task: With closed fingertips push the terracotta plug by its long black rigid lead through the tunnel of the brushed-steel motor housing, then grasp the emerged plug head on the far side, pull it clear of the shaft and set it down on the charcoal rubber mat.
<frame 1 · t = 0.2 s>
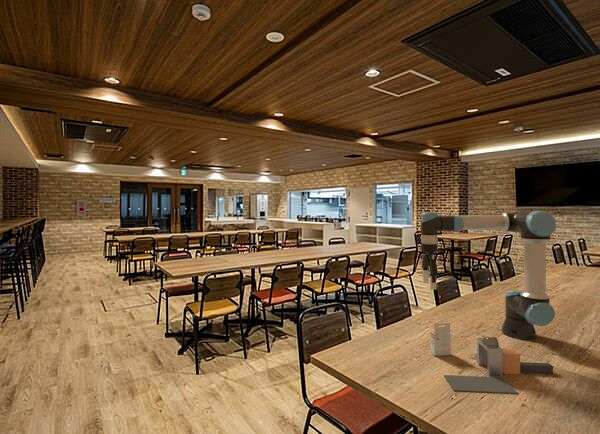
hand: (429, 286, 165), 28 cm above the table, fingers open, 13 cm apart
ink box: (440, 354, 151), on the table
housing: (489, 370, 136), on the table
plug: (508, 370, 135), on the table
mat: (479, 384, 125), on the table
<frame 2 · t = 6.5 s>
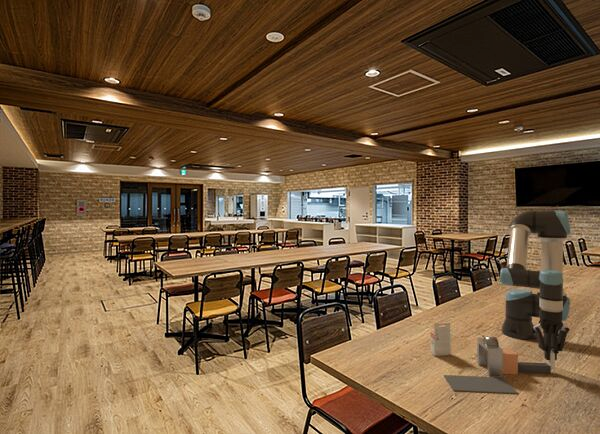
hand: (550, 367, 133), 2 cm above the table, fingers closed
plug: (506, 370, 135), on the table, touching gripper
everything else where it was.
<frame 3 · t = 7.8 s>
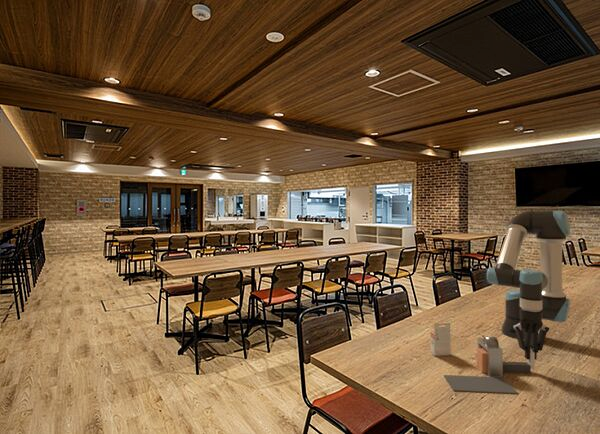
hand: (530, 367, 134), 2 cm above the table, fingers closed
plug: (487, 370, 136), on the table, touching gripper
everything else where it was.
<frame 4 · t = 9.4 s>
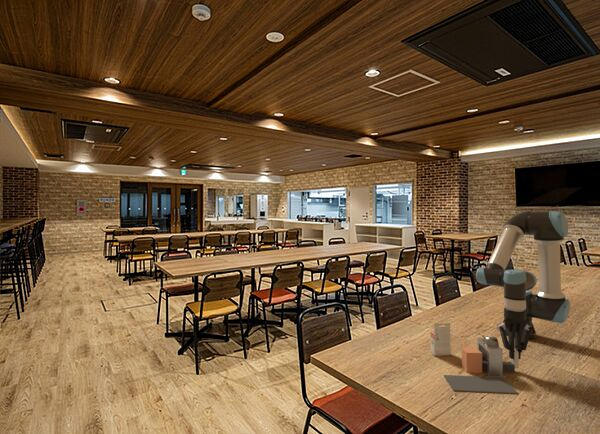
hand: (514, 366, 135), 2 cm above the table, fingers closed
plug: (471, 369, 136), on the table, touching gripper
everything else where it was.
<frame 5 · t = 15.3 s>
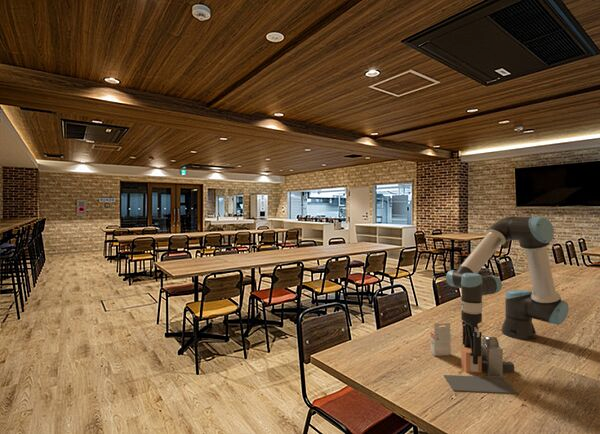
hand: (471, 367, 137), 1 cm above the table, fingers closed on plug, 5 cm apart
plug: (471, 369, 137), on the table, touching gripper
everything else where it was.
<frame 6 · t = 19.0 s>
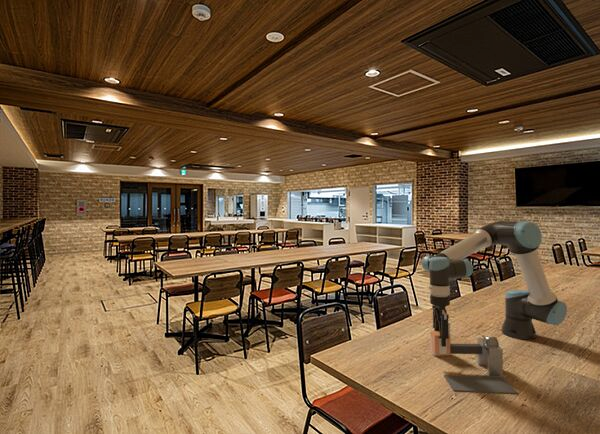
hand: (440, 350, 138), 7 cm above the table, fingers closed on plug, 5 cm apart
plug: (440, 352, 138), point 7 cm above the table, touching gripper
everything else where it was.
when the fingers open (3 cm above the table, at t = 22.7 s): plug drops 1 cm, resting on mat.
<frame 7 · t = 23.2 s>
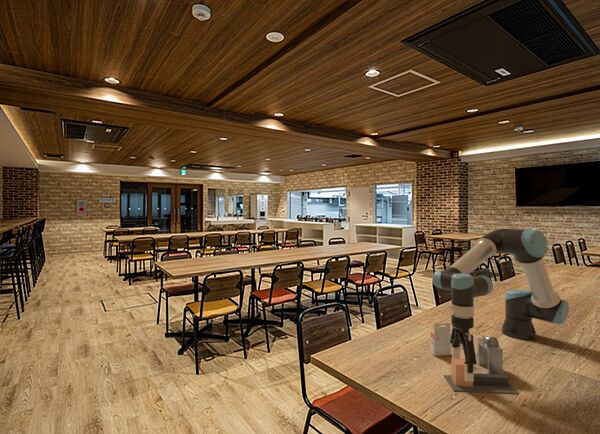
hand: (462, 372, 125), 4 cm above the table, fingers open, 12 cm apart
plug: (462, 382, 125), resting on mat
everything else where it was.
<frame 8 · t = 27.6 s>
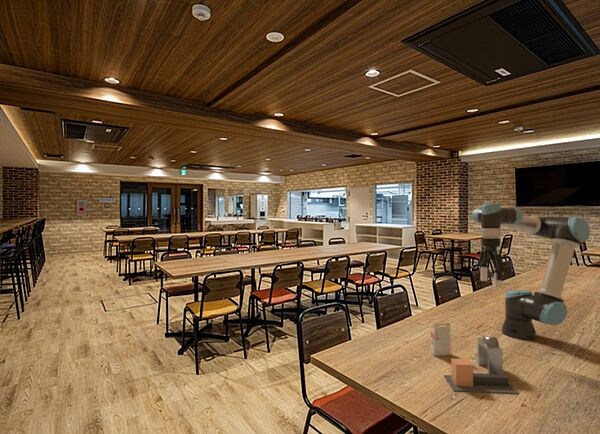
hand: (490, 284, 151), 32 cm above the table, fingers open, 13 cm apart
nothing on the table moved.
at the end: plug inside the target area on the mat (5.4 cm from its centre), point 0.4 cm above the mat's base; plug touching mat; the gripper is holding nothing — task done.
